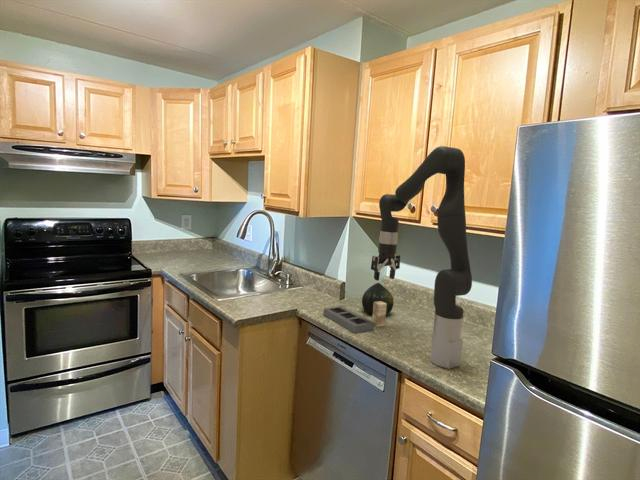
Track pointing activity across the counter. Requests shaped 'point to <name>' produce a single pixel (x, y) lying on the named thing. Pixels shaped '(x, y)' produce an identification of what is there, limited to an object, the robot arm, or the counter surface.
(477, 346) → the counter surface
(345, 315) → the gray slotted tray
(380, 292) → the squash
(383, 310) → the square peg
